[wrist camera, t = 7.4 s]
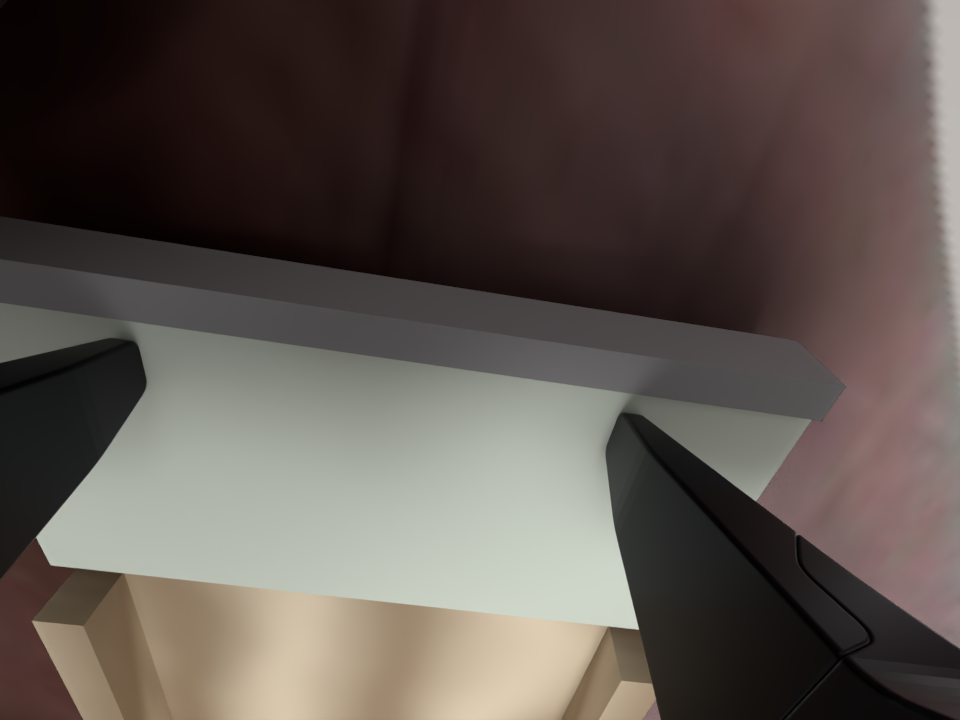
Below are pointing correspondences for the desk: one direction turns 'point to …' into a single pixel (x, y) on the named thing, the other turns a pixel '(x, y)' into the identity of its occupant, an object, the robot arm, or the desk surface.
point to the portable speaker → (2, 2)
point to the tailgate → (380, 424)
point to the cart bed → (325, 657)
